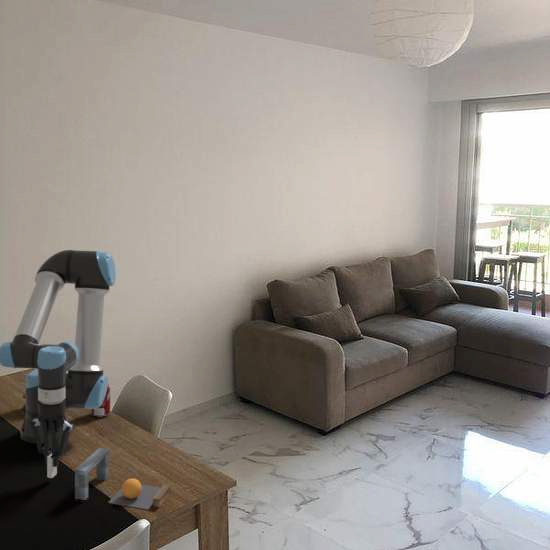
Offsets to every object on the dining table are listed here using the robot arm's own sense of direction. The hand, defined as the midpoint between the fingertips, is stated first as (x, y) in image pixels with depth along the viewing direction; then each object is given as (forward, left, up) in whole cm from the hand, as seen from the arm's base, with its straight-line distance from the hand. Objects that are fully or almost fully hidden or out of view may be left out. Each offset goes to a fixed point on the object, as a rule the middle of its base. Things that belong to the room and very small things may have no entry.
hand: (52, 475), depth 183 cm
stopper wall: (+34, 0, -2) cm, 35 cm away
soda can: (-10, +50, -2) cm, 51 cm away
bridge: (+13, 0, -2) cm, 13 cm away
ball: (+26, -1, +1) cm, 26 cm away
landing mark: (+27, 0, -2) cm, 27 cm away
